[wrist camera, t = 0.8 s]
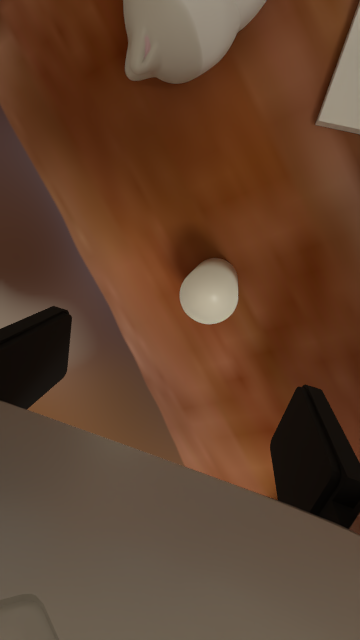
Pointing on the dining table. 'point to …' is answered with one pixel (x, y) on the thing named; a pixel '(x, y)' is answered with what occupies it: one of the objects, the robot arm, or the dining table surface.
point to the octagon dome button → (345, 86)
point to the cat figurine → (181, 35)
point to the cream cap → (210, 291)
